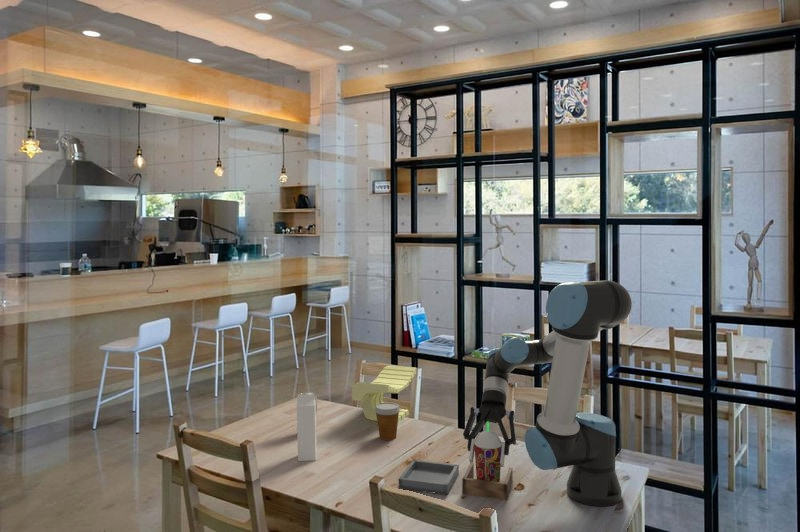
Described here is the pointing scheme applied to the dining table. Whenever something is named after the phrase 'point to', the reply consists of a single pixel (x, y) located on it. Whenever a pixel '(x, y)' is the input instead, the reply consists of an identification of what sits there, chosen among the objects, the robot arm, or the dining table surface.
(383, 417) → the disposable coffee cup
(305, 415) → the milk
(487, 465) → the smoothie
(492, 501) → the dining table surface
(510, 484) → the open-sided wooden box
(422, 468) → the tray
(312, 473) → the dining table surface
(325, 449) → the dining table surface
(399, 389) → the slatted curved stool
